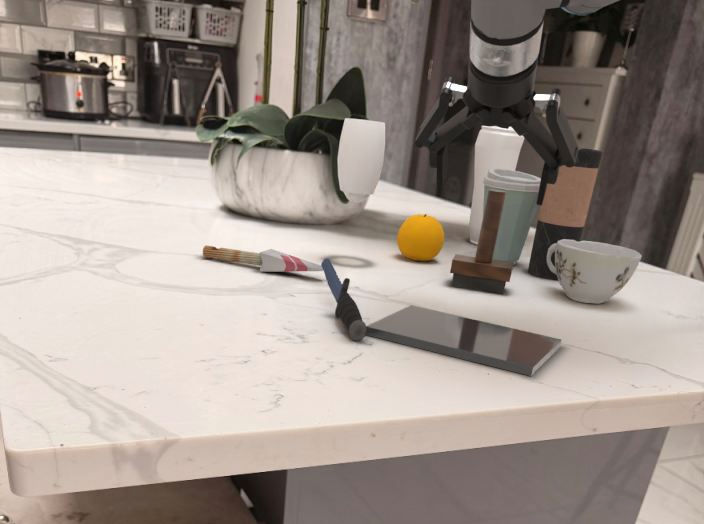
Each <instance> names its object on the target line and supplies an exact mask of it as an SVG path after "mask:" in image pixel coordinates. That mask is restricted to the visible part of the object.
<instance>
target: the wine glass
mask: <svg viewBox="0 0 704 524" xmlns="http://www.w3.org/2000/svg"><path fill="white" fill-rule="evenodd" d="M385 149H386V123H385V122H383V121H376V120H370V119H361V118H360V119H359V118H351V117H348V118H347V117H346V118H344V122H343V125H342V129H341V133H340V138H339V145H338V152H337V159H336V160H337V178H338V184H339V190H340V191H341V192H343V194H344V196H345V197H346V199H347V200H348V201H350V202H352V203H353V204H355V205H356V204H359V203H362V202H365V201H366V200H367V199H368V198H369V197H370V196H371V195H374V193H375V191H376V189H377V186H378V184H379V182H380V177H381V174H382V171H383V167H384V161H385Z"/></svg>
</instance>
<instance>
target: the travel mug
mask: <svg viewBox="0 0 704 524" xmlns="http://www.w3.org/2000/svg"><path fill="white" fill-rule="evenodd" d="M602 156H603V150H599V149H593V148H592V149H591V148H585V147H584V148H579V150H578V154H577V158H576V162H575V165H574V166H573V167H571V168H569V167H566V166H565V165H563V166H561V167H560V168H559V173H558V177H557V181H556V183H555V184H547V189H546V192H545V196H544V200H543V204H542V205H540V209H539V213H538V216H537V222H536V227H535V231H534V237H533V238H534V239H533V241H532V242H533V243H532V247H531V251H530V252H531V253H530V256H529V257H530V258H529V263H528V268H527V273H528V274H529V275H532V276H533V277H538V278H542V279H547V280H556V281H559V280H558V277H557V275H556V274H555V273H553V272H552V271H551V270H550V269H549V267H548V264H547V253H548V249H549V248H550V246H551V245H553V244H555V243H557V242H558V241H560V240H562V239H566V240H574V241H577V242H580V241H581V239H582V234H583V232H584V227H585V224H586V220H587V216H588V212H589V209H590V204H591V201H592V196H593V193H594V187H595V185H596V180H597V176H598V173H599V168H600V164H601V160H602ZM551 262H552V264H553V265H554V267H555V251H554V252H553V253H552V255H551Z"/></svg>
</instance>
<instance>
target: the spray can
mask: <svg viewBox="0 0 704 524" xmlns="http://www.w3.org/2000/svg"><path fill="white" fill-rule="evenodd" d="M525 140H526V139H525V138H524V137H523V136H519V135H518V134H517V133H516V132H515V131H514V129H513V128H512V127H509V128H508V129H505V128H500V127H497V126H483V125H481V129H480V130H479V131H478V134H477V138H476V141H475V144H474V169H473V170H474V175H473V191H472V198H471V206H470V213H469V221H468V229H469V231H468V232H469V242H470V243H471V244H474V245H477V246H478V241H479V236H480V230H481V225H482V220H483V205H484V184H483V181H484V177H485V176H487V175H488V170H489V169H508V170H514V171H516V168H517V165H518V161H519V157H520V153H521V149H522V146H523V144H524V141H525Z"/></svg>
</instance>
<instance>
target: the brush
mask: <svg viewBox="0 0 704 524" xmlns="http://www.w3.org/2000/svg"><path fill="white" fill-rule="evenodd" d="M505 196H506V192H505V191H501V190H494V189H489V190H488V194H487V199H486V205H485V210H484V215H483V220H482V225H481V230H480V236H479V241H478V245H477V246H476V252H475V256H472V255H465V254H458V253H455V254H454V256H453V258H452V259H451V265H450V271H449V273H450V274H452V280H451V285H450V286H451V287H455V288H460V289H465V290H466V289H467V290H473V291H478V292H479V291H480V292H487V293H493V294H498V295H504V293H505V288H506V284H507V283H510V282H511V277H512V274H513V267H514V265H513V263H512V262H505V261H499V260H492V259H493V254H494V249H495V245H496V240H497V235H498V230H499V225H500V220H501V215H502V210H503V206H504V201H505Z"/></svg>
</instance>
